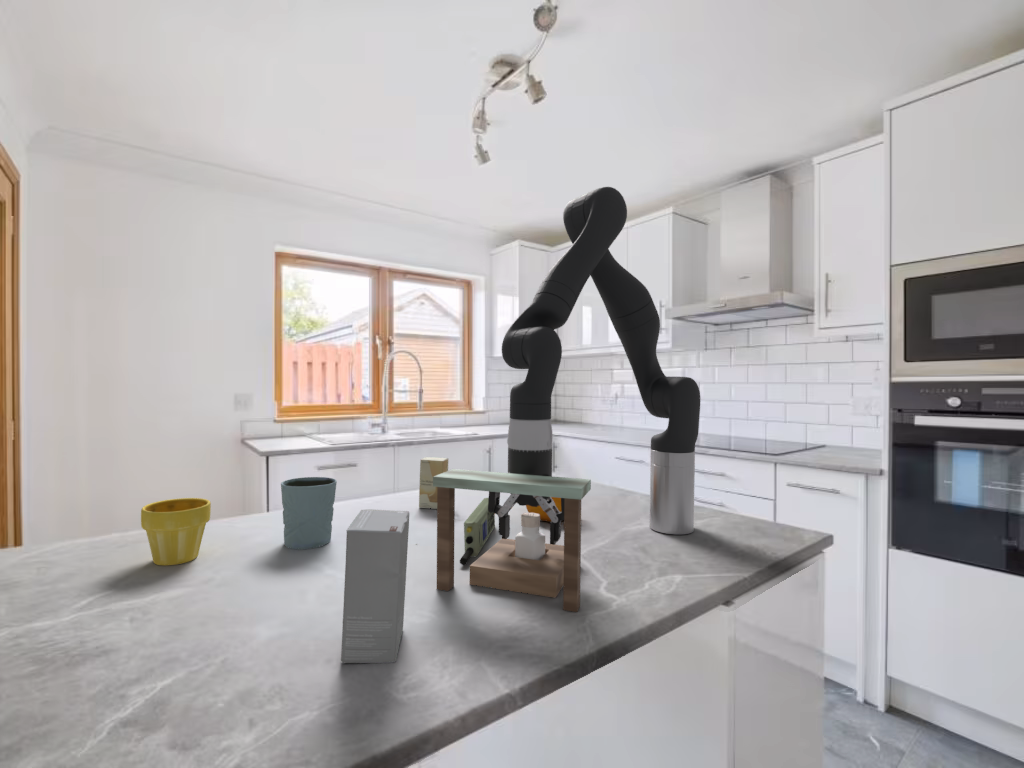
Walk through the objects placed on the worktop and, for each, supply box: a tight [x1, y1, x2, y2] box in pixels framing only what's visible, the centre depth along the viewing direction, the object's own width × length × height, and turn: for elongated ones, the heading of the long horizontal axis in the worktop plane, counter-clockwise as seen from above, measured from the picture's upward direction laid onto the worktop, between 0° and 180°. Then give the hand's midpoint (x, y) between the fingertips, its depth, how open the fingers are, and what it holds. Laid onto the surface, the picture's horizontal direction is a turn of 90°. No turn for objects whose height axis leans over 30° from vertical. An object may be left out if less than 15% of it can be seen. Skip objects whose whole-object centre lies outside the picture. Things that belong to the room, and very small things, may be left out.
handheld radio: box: [459, 497, 496, 566], centre depth 101 cm, size 7×3×25 cm
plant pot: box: [140, 497, 212, 566], centre depth 91 cm, size 10×10×10 cm
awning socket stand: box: [433, 468, 592, 613], centre depth 84 cm, size 19×23×18 cm
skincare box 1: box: [340, 509, 410, 664], centre depth 63 cm, size 8×7×16 cm
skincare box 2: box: [418, 456, 449, 510], centre depth 129 cm, size 6×4×12 cm
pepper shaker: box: [514, 512, 546, 560], centre depth 88 cm, size 4×4×10 cm
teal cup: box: [280, 476, 337, 550], centre depth 101 cm, size 10×10×12 cm
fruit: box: [525, 497, 562, 523], centre depth 120 cm, size 12×12×10 cm
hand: (529, 540), depth 88 cm, fingers open, 8 cm apart
